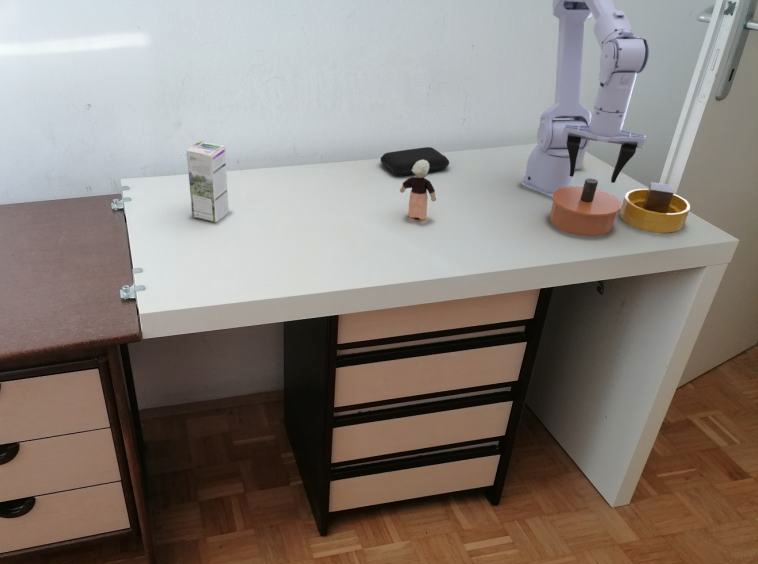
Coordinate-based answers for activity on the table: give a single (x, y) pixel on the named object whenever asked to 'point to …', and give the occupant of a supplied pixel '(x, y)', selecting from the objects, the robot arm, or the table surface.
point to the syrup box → (208, 181)
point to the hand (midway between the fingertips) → (592, 177)
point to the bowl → (653, 213)
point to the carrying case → (413, 160)
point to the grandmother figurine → (419, 191)
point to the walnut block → (658, 197)
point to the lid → (586, 200)
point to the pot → (580, 222)
